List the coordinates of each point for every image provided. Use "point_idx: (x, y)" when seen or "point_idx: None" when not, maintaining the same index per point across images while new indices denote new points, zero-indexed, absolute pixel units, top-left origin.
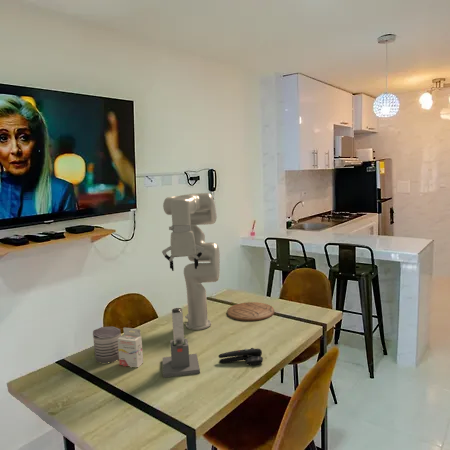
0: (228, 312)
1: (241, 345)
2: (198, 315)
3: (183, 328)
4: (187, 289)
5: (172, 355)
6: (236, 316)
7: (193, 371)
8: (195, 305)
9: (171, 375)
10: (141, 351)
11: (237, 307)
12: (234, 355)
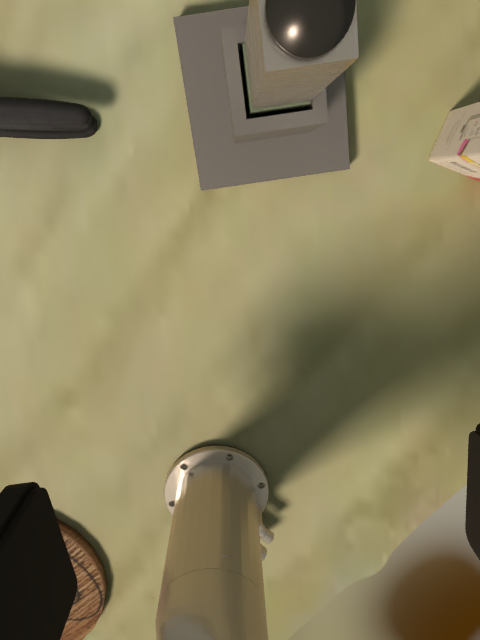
0: (97, 576)
1: (17, 281)
2: (208, 495)
3: (247, 16)
4: (262, 631)
5: None
6: None
7: (202, 15)
8: (218, 534)
9: None
10: (459, 145)
11: None
12: (10, 99)
